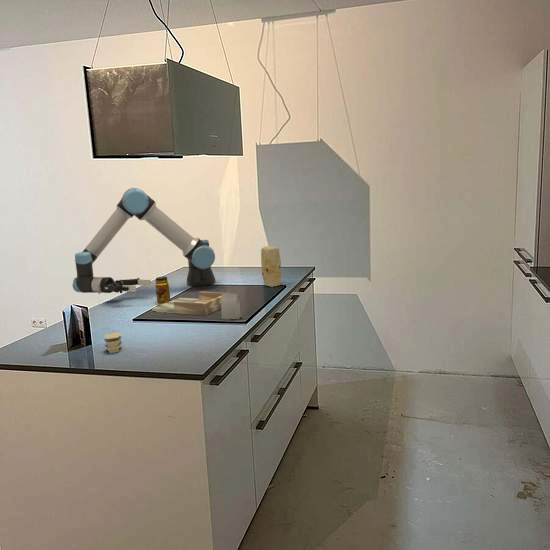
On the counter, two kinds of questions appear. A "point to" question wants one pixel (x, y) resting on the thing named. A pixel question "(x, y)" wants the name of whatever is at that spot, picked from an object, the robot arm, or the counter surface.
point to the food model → (271, 266)
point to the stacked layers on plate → (113, 342)
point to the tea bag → (230, 306)
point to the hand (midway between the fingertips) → (143, 285)
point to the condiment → (162, 290)
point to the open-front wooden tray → (193, 304)
